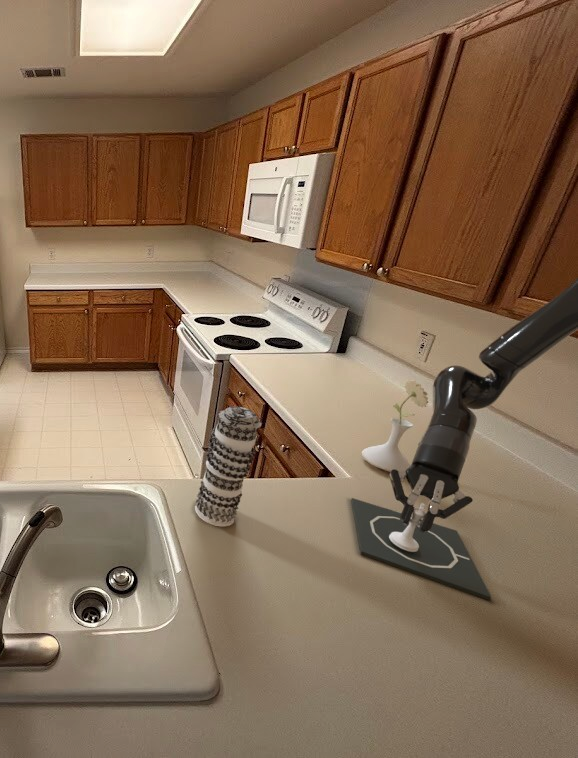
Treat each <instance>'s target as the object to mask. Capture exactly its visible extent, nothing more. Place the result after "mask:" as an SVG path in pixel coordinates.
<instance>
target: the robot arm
mask: <svg viewBox="0 0 578 758" xmlns="http://www.w3.org/2000/svg"><path fill="white" fill-rule="evenodd" d="M576 331H578V277H577V278H576V279H575V280H574V281H573V282H572V283H570V284H569V286H568V287H566V288H565V289H564V290H562V292H561V293H559V294H558V295H557V296H555V297H554V298H553V299H551V300H550V301H548V302H546V303H545V304H544V305H543V306H541V307H540V308H538V309H536V310H535V311H534V312H532V313H531V314H529V315H527V316H525V317H524V318H523V319H520V320H519V321H518V322H516V323H515V324H514V325H513V326H510V327H509V329H508V328H507V330H505V331H504V332H503V333H502V334H500V335H499V336H498V337H496V339H494V340H493V341H492V342H491V343H489V344H488V345H487V346H485V348H483V349H482V350H481V351H480V352H479V354H478V360H479V362H481V363H482V365H484V366H485V367H486V368H487V369H489V372H488V374H487V375H485V376H484V375H481V374H479V373H477V372H475V371H473V370H470V369H469V368H467V367H465V366H462V365H449V366H447V367H445V368H444V369H441V371H440V372H439V373H438V374H437V375H436V376H435V377H434V380H433V382H432V383H433V384H432V415H431V416H430V420H429V422H428V425H427V427H426V429H425V431H424V433H423V434H422V436H421V438H420V441H419V442H418V445H417V446H418V447H417V449H416V451H415V454H414V456H413V459H412V462H411V463H410V467H409V468H408V469H406V471H397V470H395V469H393V470H392V471H391V472H389V474H388V476H389V481H390V484H391V487H392V491H393V494H394V495H393V496H394V498H395V500H396V501H397V502H399V503H401V504H402V505H403V507H402V511H401V512H400V513H401V516H400V520H401V521H403V523H402V524H403V525H405V526H407V525H408V523H409V521H410V518H411V517H412V516H413V510H414V509H415V504H416V502H417V500H418V498H419V497H420V496H423V497H425V498H427V499H428V503H427V504H428V505H427V509H426V512H425V514H426V515H425V516H424V517H423V518H422V519H421V520H422V522H421V525H420V528H419V531H420V532H422V533H424V532H425V531H428V530H430V529H431V527H432V524H433V523H434V521H435V518H439V519H443V520H445V519H447V518H449V517H451V516H452V515H454V514H456V513H457V512H459V511H460V510H462V509H464V508H466V507H467V506H469V505H470V504H472V502H473V500H474V499H473V498H472V497H471V496H469V495H466V494H464V493H463V492H462V491H461V490H460V486H459V479H460V476H461V474H462V471H463V468H464V466H465V462H466V459H467V458H468V457H467V456H468V454H469V451H470V446H471V440H472V437H473V434H474V432H475V429H476V426H477V423H478V418H477V416H476V413H474V412H473V411H472V410H482V409H485V408H487V407H490V406H492V405H493V404H494V403H495V402H497V400H498V399H499V398H500V397H501V395H502V394H503V393H504V392H505V390H506V389H507V387H509V385H510V384H511V383H512V382H513V380H515V378H517V376H518V375H519V373H521V371H523V370H525V369H526V368H527V367H529V366H530V365H532V364H533V363H534V362H536V361H537V360H539V358H541V357H543V356H544V355H545V354H547V353H548V352H549V351H551V350H552V349H553V348H555V347H556V346H557V345H560V343H562V341H564V340H565V339H567V338H568V337H570V336H571V335H572V334H574V333H575V332H576ZM404 479H406V481H407V483H408V485H409V487H410V489H411V491H410V492H409V494H408V496H407V495H406V494H405V490H404V486H403V484H402V482H403V481H404ZM450 496H454V497H453V499H452V501H453V504H451V505H449V506H447V507H445V509H439V508H440V504H441V501H442V500H443V499H445V498H448V497H450Z"/></svg>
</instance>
